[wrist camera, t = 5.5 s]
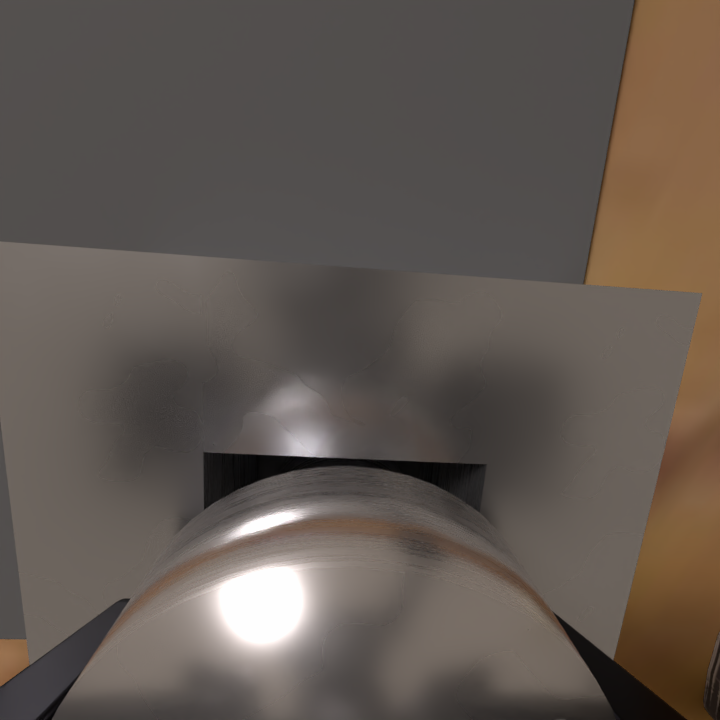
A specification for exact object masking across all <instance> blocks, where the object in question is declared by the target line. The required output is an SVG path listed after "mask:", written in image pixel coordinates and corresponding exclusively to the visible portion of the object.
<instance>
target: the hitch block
mask: <svg viewBox="0 0 720 720" xmlns="http://www.w3.org/2000/svg"><path fill="white" fill-rule="evenodd" d="M701 296H702V293H691V292H678V291H664V290H651V289H637V288H623V287H610V286H596V285H583V284H569V283H556V282H542V281H529V280H515V279H502V278H488V277H475V276H461V275H447V274H434V273H420V272H407V271H393V270H380V269H366V268H353V267H339V266H326V265H312V264H299V263H285V262H271V261H258V260H244V259H231V258H217V257H204V256H190V255H177V254H163V253H150V252H136V251H123V250H109V249H95V248H82V247H68V246H55V245H41V244H28V243H14V242H1V241H0V422H1V430H2V439H3V447H4V455H5V464H6V472H7V480H8V489H9V497H10V505H11V514H12V522H13V530H14V538H15V547H16V555H17V563H18V572H19V580H20V588H21V597H22V605H23V613H24V622H25V630H26V638H27V646H28V655H29V663H30V665H31V664H32V663H34V662H35V661H36V660H38V659H39V658H40V657H42V656H43V655H45V654H46V653H47V652H49V651H50V650H51V649H53V648H54V647H55V646H57V645H58V644H60V643H61V642H62V641H64V640H65V639H66V638H68V637H69V636H70V635H72V634H73V633H75V632H76V631H77V630H79V629H80V628H81V627H83V626H84V625H85V624H87V623H88V622H90V621H91V620H92V619H94V618H95V617H96V616H98V615H99V614H100V613H102V612H103V611H105V610H106V609H107V608H109V607H110V606H111V605H113V604H114V603H115V602H117V601H119V600H121V599H124V598H131V597H132V596H133V594H134V593H135V591H136V590H137V588H138V587H139V585H140V584H141V582H142V581H143V579H144V577H145V576H146V574H147V573H148V571H149V570H150V568H151V567H152V565H153V564H154V562H155V561H156V559H157V558H158V557H159V555H160V554H161V553H162V551H163V550H164V549H165V548H166V546H167V545H168V544H169V542H170V541H171V540H172V538H173V537H174V536H175V535H176V534H177V533H178V532H179V531H180V530H181V529H182V528H184V527H185V526H186V525H187V524H188V523H189V522H190V521H191V520H192V519H193V518H194V517H196V516H197V515H198V514H200V513H201V512H202V511H204V510H205V509H206V508H208V507H209V506H210V505H212V504H213V503H215V502H217V501H218V500H220V499H222V498H224V497H226V496H227V495H229V494H231V493H233V492H234V491H236V490H238V489H240V488H243V487H245V486H248V485H250V484H253V483H255V482H258V481H259V455H280V456H304V457H327V458H350V459H373V460H396V461H419V462H420V466H419V476H418V479H420V480H422V481H425V482H428V483H430V484H433V485H436V486H437V487H439V488H441V489H443V490H445V491H447V492H449V493H451V494H453V495H455V496H457V497H458V498H460V499H461V500H463V501H464V502H465V503H467V504H468V505H470V506H471V507H472V508H474V509H475V510H477V511H478V512H479V513H481V514H482V515H483V516H484V517H485V518H486V519H487V520H488V521H489V522H490V523H491V524H492V525H493V526H494V527H495V528H496V529H497V530H498V531H499V532H500V534H501V535H502V536H503V537H504V539H505V540H506V541H507V543H508V544H509V545H510V546H511V548H512V549H513V551H514V552H515V554H516V555H517V557H518V558H519V560H520V562H521V563H522V565H523V566H524V568H525V569H526V571H527V573H528V574H529V576H530V577H531V579H532V580H533V582H534V584H535V585H536V587H537V588H538V590H539V591H540V593H541V594H542V596H543V598H544V599H545V601H546V602H547V604H548V605H549V607H550V609H551V610H552V611H553V612H554V613H555V614H557V615H558V616H559V617H560V618H562V619H563V620H564V621H565V622H567V623H568V624H569V625H570V626H572V627H573V628H574V629H575V630H576V631H578V632H579V633H580V634H581V635H583V636H584V637H585V638H586V639H588V640H589V641H590V642H591V643H593V644H594V645H595V646H596V647H598V648H599V649H600V650H601V651H603V652H604V653H605V654H606V655H607V656H609V657H610V658H611V659H612V660H614V656H615V652H616V647H617V643H618V639H619V635H620V631H621V627H622V623H623V619H624V614H625V610H626V606H627V602H628V598H629V594H630V590H631V585H632V581H633V577H634V573H635V569H636V565H637V561H638V557H639V552H640V548H641V544H642V540H643V536H644V532H645V528H646V523H647V519H648V515H649V511H650V507H651V503H652V499H653V495H654V490H655V486H656V482H657V478H658V474H659V470H660V466H661V461H662V457H663V453H664V449H665V445H666V441H667V437H668V433H669V428H670V424H671V420H672V416H673V412H674V408H675V404H676V399H677V395H678V391H679V387H680V383H681V379H682V375H683V371H684V366H685V362H686V358H687V354H688V350H689V346H690V342H691V337H692V333H693V329H694V325H695V321H696V317H697V313H698V309H699V304H700V300H701Z"/></svg>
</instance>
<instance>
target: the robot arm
mask: <svg viewBox="0 0 720 720" xmlns="http://www.w3.org/2000/svg"><path fill="white" fill-rule="evenodd" d="M130 599H131V598H124V599H121V600H119V601H117V602H115V603H114V604H113V605H111V606H110V607H109V608H107V609H106V610H105V611H103V612H102V613H100V614H99V615H98V616H96V617H95V618H94V619H92V620H91V621H90V622H88V623H87V624H85V625H84V626H83V627H81V628H80V629H79V630H77V631H76V632H75V633H73V634H72V635H70V636H69V637H68V638H66V639H65V640H64V641H62V642H61V643H60V644H58V645H57V646H55V647H54V648H53V649H51V650H50V651H49V652H47V653H46V654H45V655H43V656H42V657H40V658H39V659H38V660H36V661H35V662H34V663H32V664H31V665H30V666H28V667H27V668H25V669H24V670H23V671H21V672H20V673H19V674H17V675H16V676H15V677H13V678H12V679H10V680H9V681H8V682H6V683H5V684H4V685H2V686H1V687H0V720H52V718H53V717H54V715H55V713H56V711H57V709H58V707H59V706H60V704H61V703H62V701H63V700H64V698H65V697H66V695H67V694H68V692H69V691H70V689H71V688H72V686H73V685H74V683H75V682H76V680H77V678H78V677H79V675H80V674H81V672H82V671H83V669H84V668H85V666H86V665H87V663H88V662H89V660H90V659H91V657H92V656H93V654H94V653H95V651H96V650H97V648H98V647H99V645H100V644H101V642H102V641H103V639H104V638H105V636H106V635H107V633H108V632H109V630H110V629H111V627H112V626H113V624H114V623H115V621H116V620H117V618H118V617H119V615H120V614H121V612H122V611H123V609H124V608H125V606H126V605H127V603H128V602H129V600H130ZM552 612H553V611H552ZM553 613H554V612H553ZM554 615H555V616H556V618H557V620H558V621H559V623H560V624H561V626H562V627H563V629H564V631H565V632H566V634H567V635H568V637H569V638H570V640H571V642H572V643H573V645H574V646H575V648H576V649H577V651H578V652H579V654H580V656H581V657H582V659H583V660H584V662H585V663H586V665H587V667H588V668H589V670H590V671H591V673H592V674H593V676H594V678H595V679H596V681H597V682H598V684H599V686H600V688H601V690H602V691H603V693H604V695H605V697H606V699H607V701H608V702H609V704H610V706H611V708H612V710H613V713H614V716H615V719H616V720H687V719H686V718H684V717H683V716H682V715H681V714H679V713H678V712H677V711H676V710H674V709H673V708H672V707H671V706H669V705H668V704H667V703H666V702H665V701H663V700H662V699H661V698H660V697H658V696H657V695H656V694H655V693H653V692H652V691H651V690H650V689H648V688H647V687H646V686H645V685H643V684H642V683H641V682H640V681H638V680H637V679H636V678H635V677H634V676H632V675H631V674H630V673H629V672H627V671H626V670H625V669H624V668H622V667H621V666H620V665H619V664H617V663H616V662H615V661H614V660H612V659H611V658H610V657H609V656H607V655H606V654H605V653H604V652H603V651H601V650H600V649H599V648H598V647H596V646H595V645H594V644H593V643H591V642H590V641H589V640H588V639H586V638H585V637H584V636H583V635H581V634H580V633H579V632H578V631H576V630H575V629H574V628H573V627H572V626H570V625H569V624H568V623H567V622H565V621H564V620H563V619H562V618H560V617H559V616H558V615H557V614H555V613H554Z"/></svg>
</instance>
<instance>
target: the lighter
mask: <svg viewBox="0 0 720 720" xmlns="http://www.w3.org/2000/svg"><path fill="white" fill-rule="evenodd" d="M703 701H704V708H705V709H706V711H707V712H708V713H709V715H710V716H711V717H712V718H713V719H714V720H720V632H719V634H718V637H717V640H716V644H715V647H714V651H713V654H712V658H711V661H710V664H709V668H708V673H707V680H706V686H705V693H704V699H703Z"/></svg>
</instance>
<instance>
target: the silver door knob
mask: <svg viewBox="0 0 720 720" xmlns="http://www.w3.org/2000/svg"><path fill="white" fill-rule="evenodd" d="M52 720H616V719H615V716H614V713H613V710H612V708H611V706H610V704H609V702H608V701H607V699H606V697H605V695H604V693H603V691H602V690H601V688H600V686H599V684H598V682H597V681H596V679H595V678H594V676H593V674H592V673H591V671H590V670H589V668H588V667H587V665H586V663H585V662H584V660H583V659H582V657H581V656H580V654H579V652H578V651H577V649H576V648H575V646H574V645H573V643H572V642H571V640H570V638H569V637H568V635H567V634H566V632H565V631H564V629H563V627H562V626H561V624H560V623H559V621H558V620H557V618H556V616H555V615H554V613H553V612H552V610H551V609H550V607H549V605H548V604H547V602H546V601H545V599H544V598H543V596H542V594H541V593H540V591H539V590H538V588H537V587H536V585H535V584H534V582H533V580H532V579H531V577H530V576H529V574H528V573H527V571H526V569H525V568H524V566H523V565H522V563H521V562H520V560H519V558H518V557H517V555H516V554H515V552H514V551H513V549H512V548H511V546H510V545H509V544H508V543H507V541H506V540H505V539H504V537H503V536H502V535H501V534H500V532H499V531H498V530H497V529H496V528H495V527H494V526H493V525H492V524H491V523H490V522H489V521H488V520H487V519H486V518H485V517H484V516H483V515H482V514H481V513H479V512H478V511H477V510H475V509H474V508H472V507H471V506H470V505H468V504H467V503H465V502H464V501H463V500H461V499H460V498H458V497H457V496H455V495H453V494H451V493H449V492H447V491H445V490H443V489H441V488H439V487H437V486H436V485H433V484H430V483H428V482H425V481H422V480H420V479H417V478H414V477H411V476H409V475H404V474H401V471H400V469H399V467H398V465H397V464H396V462H395V461H394V460H373V459H350V458H327V457H304V456H289V458H288V459H287V460H286V461H285V463H284V464H283V466H282V467H281V469H280V471H279V473H278V475H276V476H273V477H269V478H265V479H263V480H260V481H258V482H255V483H253V484H250V485H248V486H245V487H243V488H240V489H238V490H236V491H234V492H233V493H231V494H229V495H227V496H226V497H224V498H222V499H220V500H218V501H217V502H215V503H213V504H212V505H210V506H209V507H208V508H206V509H205V510H204V511H202V512H201V513H200V514H198V515H197V516H196V517H194V518H193V519H192V520H191V521H190V522H189V523H188V524H187V525H186V526H185V527H184V528H182V529H181V530H180V531H179V532H178V533H177V534H176V535H175V536H174V537H173V538H172V540H171V541H170V542H169V544H168V545H167V546H166V548H165V549H164V550H163V551H162V553H161V554H160V555H159V557H158V558H157V559H156V561H155V562H154V564H153V565H152V567H151V568H150V570H149V571H148V573H147V574H146V576H145V577H144V579H143V581H142V582H141V584H140V585H139V587H138V588H137V590H136V591H135V593H134V594H133V596H132V597H131V599H130V600H129V602H128V603H127V605H126V606H125V608H124V609H123V611H122V612H121V614H120V615H119V617H118V618H117V620H116V621H115V623H114V624H113V626H112V627H111V629H110V630H109V632H108V633H107V635H106V636H105V638H104V639H103V641H102V642H101V644H100V645H99V647H98V648H97V650H96V651H95V653H94V654H93V656H92V657H91V659H90V660H89V662H88V663H87V665H86V666H85V668H84V669H83V671H82V672H81V674H80V675H79V677H78V678H77V680H76V682H75V683H74V685H73V686H72V688H71V689H70V691H69V692H68V694H67V695H66V697H65V698H64V700H63V701H62V703H61V704H60V706H59V707H58V709H57V711H56V713H55V715H54V717H53V718H52Z"/></svg>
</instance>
